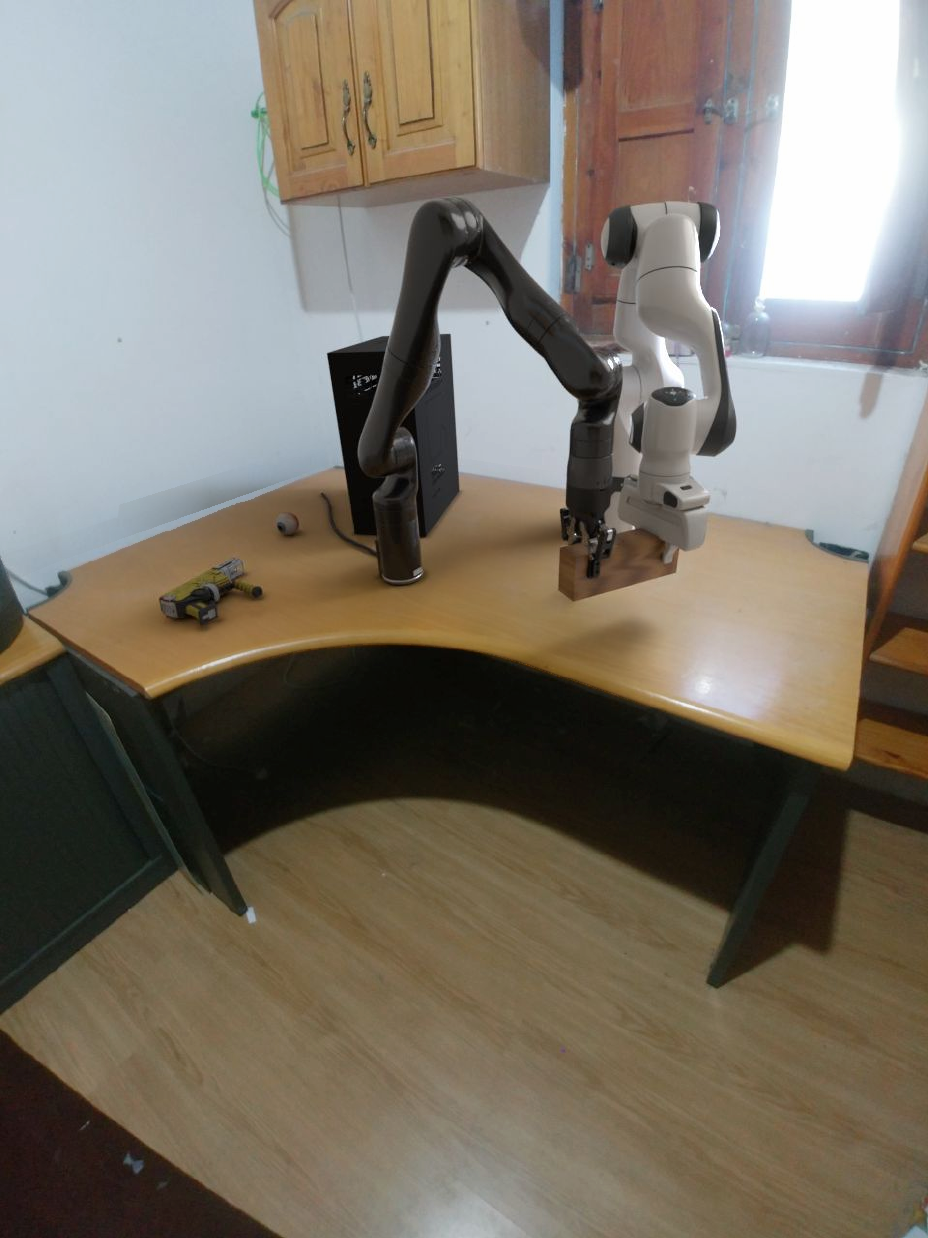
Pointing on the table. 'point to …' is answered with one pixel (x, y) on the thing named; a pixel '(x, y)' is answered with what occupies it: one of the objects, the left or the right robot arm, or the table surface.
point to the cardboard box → (424, 422)
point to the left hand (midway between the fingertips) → (583, 571)
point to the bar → (614, 565)
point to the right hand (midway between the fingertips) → (654, 555)
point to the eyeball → (287, 523)
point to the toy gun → (205, 592)
